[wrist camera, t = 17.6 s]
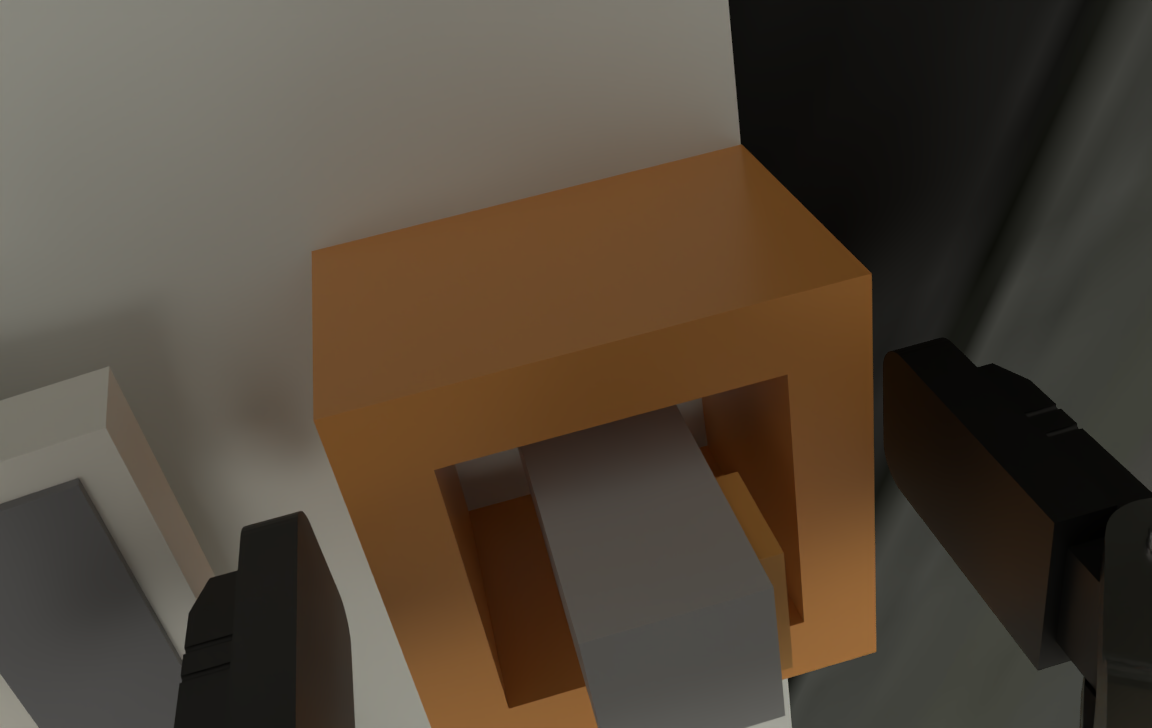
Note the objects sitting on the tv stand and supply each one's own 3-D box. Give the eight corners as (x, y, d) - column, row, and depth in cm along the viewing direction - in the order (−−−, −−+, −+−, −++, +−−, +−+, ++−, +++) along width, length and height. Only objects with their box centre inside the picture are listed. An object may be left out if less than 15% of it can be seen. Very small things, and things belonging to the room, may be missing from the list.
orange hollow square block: (422, 572, 17) (450, 778, 14) (312, 251, 14) (313, 420, 11) (769, 475, 18) (876, 651, 14) (741, 145, 14) (871, 273, 11)
